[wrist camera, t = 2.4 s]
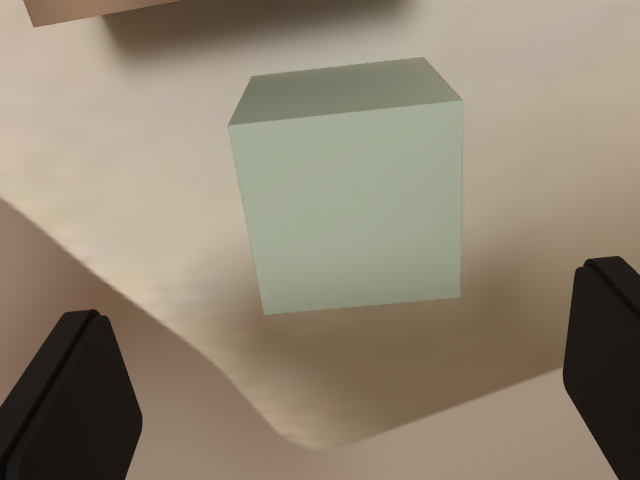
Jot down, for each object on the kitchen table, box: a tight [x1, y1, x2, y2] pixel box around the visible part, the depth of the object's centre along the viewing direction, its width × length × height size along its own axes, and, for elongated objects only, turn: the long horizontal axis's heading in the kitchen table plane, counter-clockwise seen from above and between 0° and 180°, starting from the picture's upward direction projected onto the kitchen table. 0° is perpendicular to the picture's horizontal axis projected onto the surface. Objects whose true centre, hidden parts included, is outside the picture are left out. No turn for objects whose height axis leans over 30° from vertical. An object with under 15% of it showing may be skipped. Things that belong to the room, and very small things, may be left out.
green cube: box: [228, 57, 463, 315], centre depth 18 cm, size 6×6×6 cm
